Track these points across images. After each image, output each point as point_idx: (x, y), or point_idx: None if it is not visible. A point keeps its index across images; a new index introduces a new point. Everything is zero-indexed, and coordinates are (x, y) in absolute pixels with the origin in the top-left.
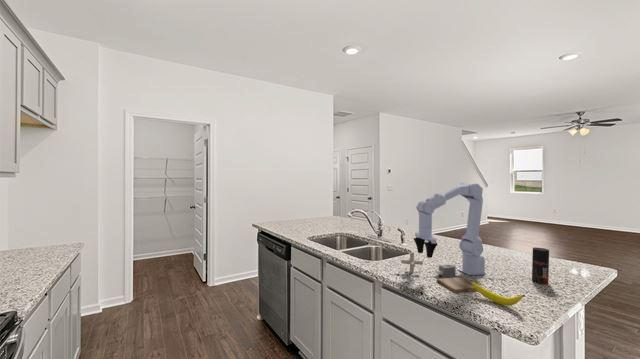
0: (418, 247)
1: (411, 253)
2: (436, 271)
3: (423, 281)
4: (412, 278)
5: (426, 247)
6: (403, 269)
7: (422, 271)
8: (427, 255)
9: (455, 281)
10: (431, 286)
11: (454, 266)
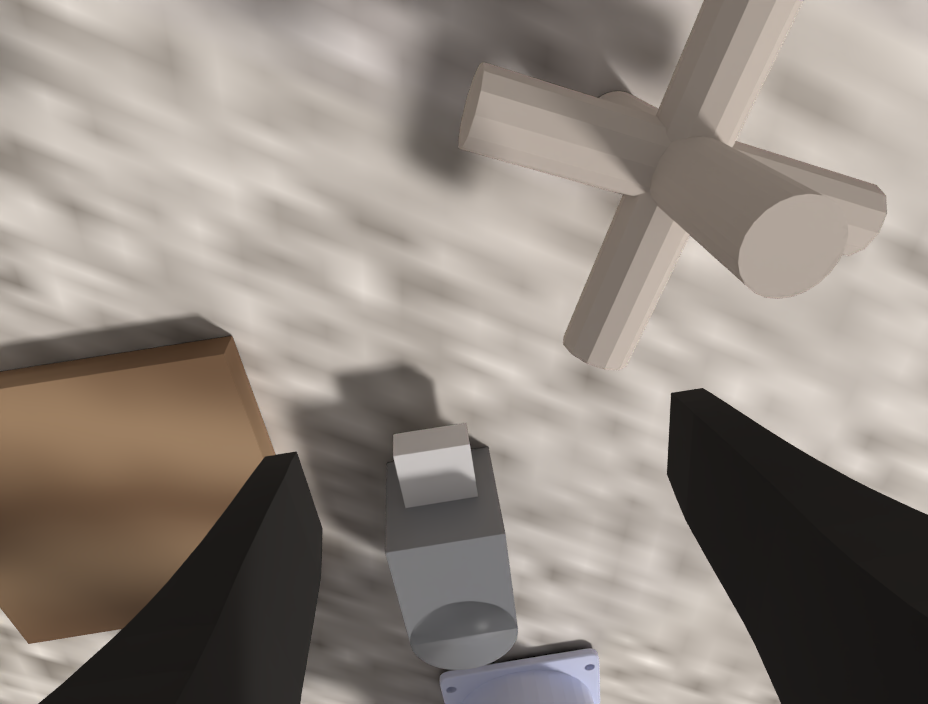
0: (753, 485)
1: (745, 207)
2: (443, 440)
3: (216, 152)
4: (341, 16)
5: (146, 670)
6: (786, 36)
7: None
8: (249, 483)
9: (166, 514)
10: (16, 188)
11: (448, 661)
